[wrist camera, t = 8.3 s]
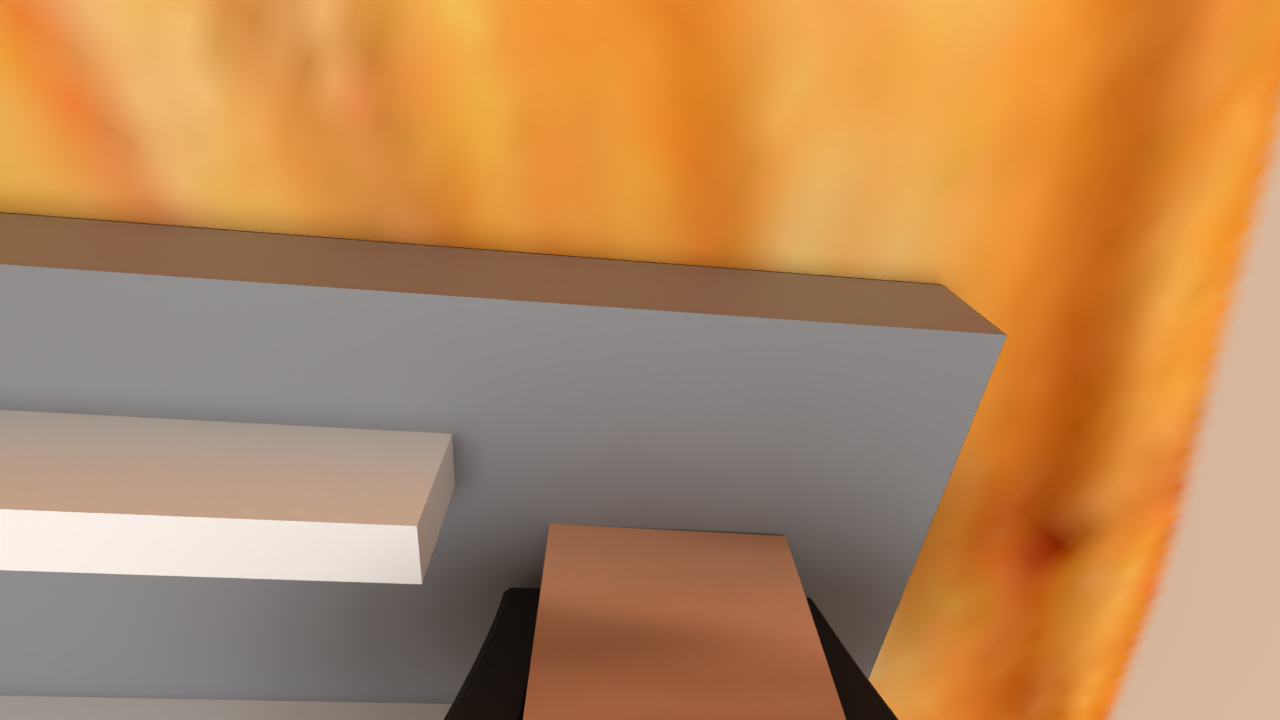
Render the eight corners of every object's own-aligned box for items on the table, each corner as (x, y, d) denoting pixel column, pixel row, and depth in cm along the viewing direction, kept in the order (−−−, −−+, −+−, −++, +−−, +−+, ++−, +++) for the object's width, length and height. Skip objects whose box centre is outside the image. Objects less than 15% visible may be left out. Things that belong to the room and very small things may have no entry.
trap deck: (797, 715, 16) (820, 798, 15) (-417, 693, 14) (-563, 789, 12) (942, 284, 11) (1007, 335, 9) (-1012, 135, 9) (-1428, 164, 7)
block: (744, 686, 13) (793, 943, 9) (543, 679, 12) (513, 942, 9) (785, 536, 11) (867, 784, 7) (549, 523, 10) (514, 776, 7)
